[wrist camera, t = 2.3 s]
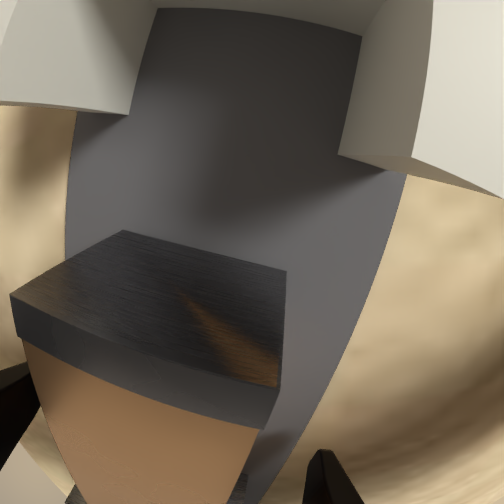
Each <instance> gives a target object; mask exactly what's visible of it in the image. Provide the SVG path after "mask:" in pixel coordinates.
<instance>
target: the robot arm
mask: <svg viewBox="0 0 504 504" xmlns="http://www.w3.org/2000/svg"><path fill="white" fill-rule="evenodd" d="M40 406H41V404H40V401H39V398H38V395H37V392H36V389H35V386H34V383H33V380H32V376H31V373H30V369H29V366H28V362H24V363H21V364H18V365H16V366H13V367H10V368H7V369H4V370H1V371H0V471H1V469H2V467H3V465H4V464H5V462H6V461H7V459H8V457H9V456H10V454H11V453H12V451H13V449H14V448H15V446H16V444H17V443H18V442H19V440H20V438H21V437H22V435H23V434H24V432H25V431H26V429H27V428H28V426H29V425H30V423H31V422H32V420H33V418H34V417H35V415H36V413H37V411H38V409H39V408H40ZM302 504H364V502H363V500H362V499H361V497H360V496H359V494H358V492H357V491H356V489H355V487H354V486H353V484H352V483H351V481H350V479H349V478H348V476H347V474H346V473H345V471H344V469H343V468H342V466H341V464H340V463H339V461H338V459H337V458H336V456H335V454H334V453H333V451H331V450H327V449H319V450H318V451H317V452H316V453H315V455H314V456H313V458H312V459H311V460H310V462H309V464H308V468H307V475H306V482H305V489H304V496H303V502H302Z"/></svg>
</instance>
